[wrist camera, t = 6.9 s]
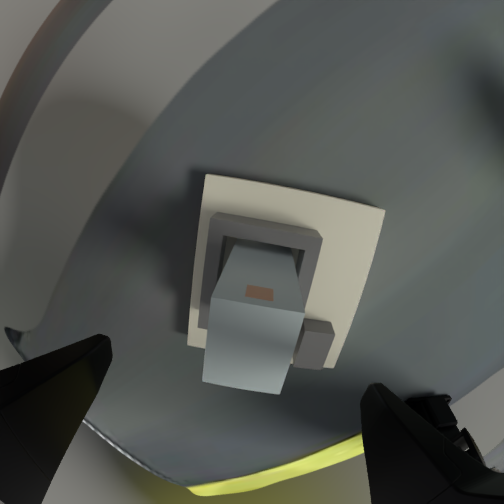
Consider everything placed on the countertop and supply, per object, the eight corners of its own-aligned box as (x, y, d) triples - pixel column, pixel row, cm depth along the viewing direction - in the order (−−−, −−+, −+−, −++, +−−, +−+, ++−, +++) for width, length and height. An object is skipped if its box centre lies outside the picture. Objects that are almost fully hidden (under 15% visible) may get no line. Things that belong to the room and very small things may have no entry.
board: (330, 358, 21) (338, 385, 18) (191, 335, 21) (180, 361, 18) (378, 207, 17) (398, 216, 14) (210, 173, 17) (197, 175, 14)
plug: (277, 306, 18) (279, 394, 11) (228, 297, 18) (202, 381, 11) (290, 246, 17) (305, 312, 9) (237, 237, 17) (211, 296, 9)
